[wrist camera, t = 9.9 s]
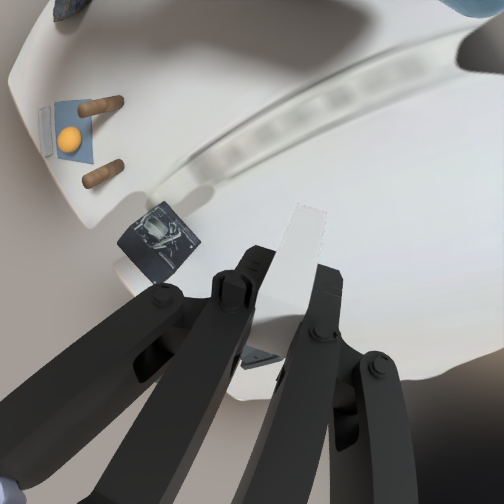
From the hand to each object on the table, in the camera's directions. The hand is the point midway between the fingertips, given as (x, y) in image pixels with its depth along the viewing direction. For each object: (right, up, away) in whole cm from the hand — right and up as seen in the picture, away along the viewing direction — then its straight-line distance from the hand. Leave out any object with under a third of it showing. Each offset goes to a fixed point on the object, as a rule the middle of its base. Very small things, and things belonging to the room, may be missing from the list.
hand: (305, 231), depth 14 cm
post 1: (-26, +26, +26) cm, 45 cm away
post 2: (-28, +16, +34) cm, 47 cm away
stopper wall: (-51, +28, +34) cm, 68 cm away
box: (-17, +3, +38) cm, 42 cm away
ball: (-40, +22, +31) cm, 55 cm away
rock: (-36, +49, +15) cm, 63 cm away
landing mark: (-41, +25, +33) cm, 58 cm away
